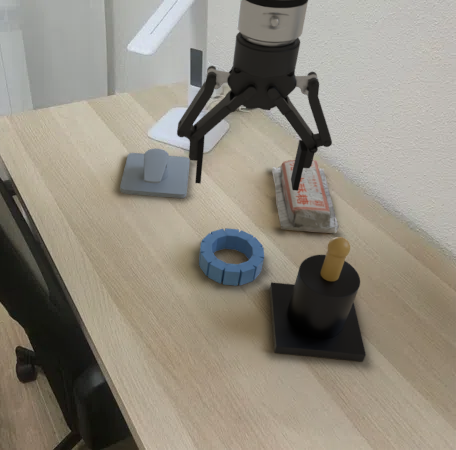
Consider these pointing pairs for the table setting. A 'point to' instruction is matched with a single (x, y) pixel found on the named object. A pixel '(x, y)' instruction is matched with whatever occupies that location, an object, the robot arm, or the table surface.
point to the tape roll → (227, 271)
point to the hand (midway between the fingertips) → (246, 181)
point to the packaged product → (304, 200)
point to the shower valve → (155, 174)
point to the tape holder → (319, 308)
